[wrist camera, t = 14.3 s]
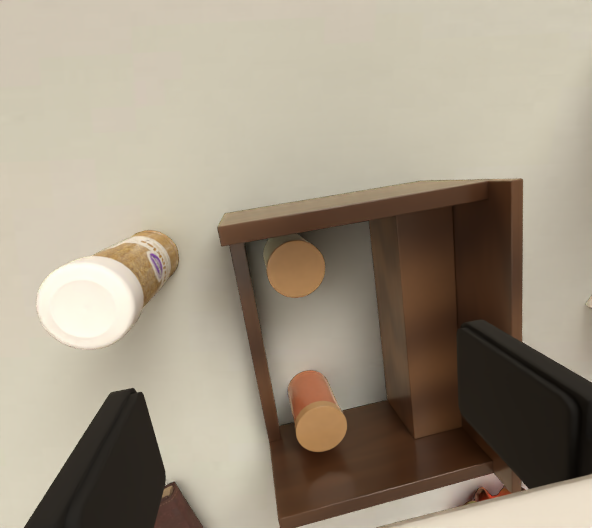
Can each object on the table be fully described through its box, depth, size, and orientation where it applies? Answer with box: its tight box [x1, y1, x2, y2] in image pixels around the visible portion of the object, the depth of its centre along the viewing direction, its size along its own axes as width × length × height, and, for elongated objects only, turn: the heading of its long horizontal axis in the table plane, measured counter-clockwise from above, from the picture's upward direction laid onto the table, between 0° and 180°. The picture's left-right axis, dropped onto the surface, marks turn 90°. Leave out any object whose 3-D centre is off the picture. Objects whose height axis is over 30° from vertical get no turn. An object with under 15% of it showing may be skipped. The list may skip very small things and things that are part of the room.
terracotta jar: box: [288, 370, 347, 452], centre depth 32 cm, size 4×4×6 cm
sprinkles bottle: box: [36, 231, 179, 350], centre depth 23 cm, size 5×5×14 cm
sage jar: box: [263, 233, 325, 298], centre depth 29 cm, size 4×4×6 cm
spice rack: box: [218, 179, 523, 528], centre depth 28 cm, size 23×18×12 cm
